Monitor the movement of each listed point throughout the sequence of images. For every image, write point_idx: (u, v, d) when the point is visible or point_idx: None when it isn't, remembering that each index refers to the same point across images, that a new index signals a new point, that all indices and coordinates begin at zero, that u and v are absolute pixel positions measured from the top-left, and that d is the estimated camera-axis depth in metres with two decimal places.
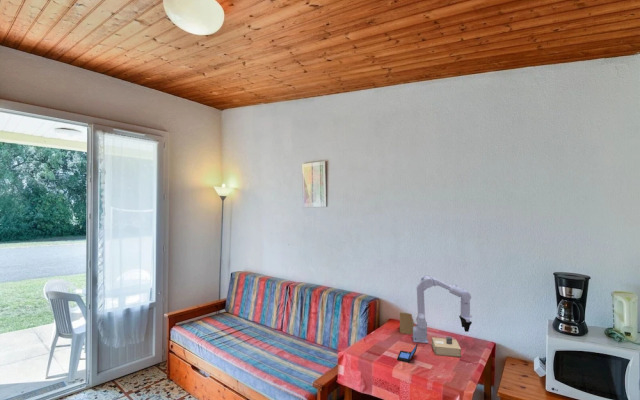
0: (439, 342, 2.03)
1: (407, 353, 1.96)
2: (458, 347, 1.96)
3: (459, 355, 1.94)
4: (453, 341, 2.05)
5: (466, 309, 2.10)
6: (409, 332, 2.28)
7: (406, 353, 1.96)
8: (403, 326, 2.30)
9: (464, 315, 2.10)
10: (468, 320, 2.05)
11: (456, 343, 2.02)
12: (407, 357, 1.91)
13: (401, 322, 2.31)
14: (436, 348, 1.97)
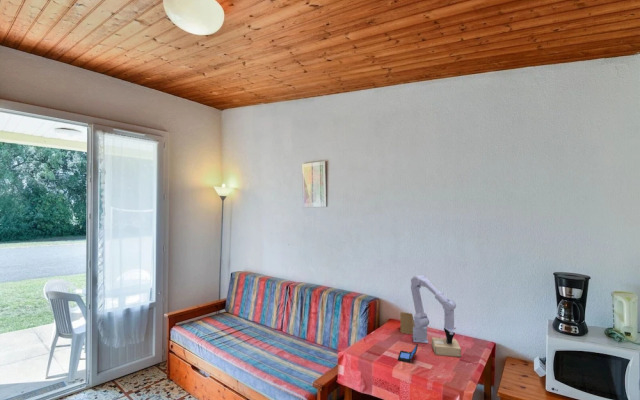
0: (439, 342, 2.03)
1: (407, 353, 1.96)
2: (458, 347, 1.96)
3: (459, 355, 1.94)
4: (453, 341, 2.05)
5: (447, 320, 2.00)
6: (410, 332, 2.28)
7: (406, 353, 1.96)
8: (404, 326, 2.31)
9: (448, 327, 2.00)
10: (452, 332, 1.95)
11: (456, 343, 2.02)
12: (408, 357, 1.91)
13: (402, 322, 2.31)
14: (436, 348, 1.97)
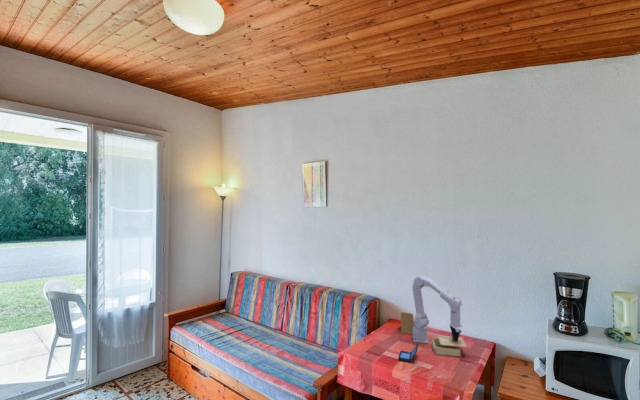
0: (444, 340, 2.02)
1: (407, 353, 1.96)
2: (464, 345, 1.95)
3: (459, 355, 1.94)
4: (458, 339, 2.04)
5: (453, 318, 2.00)
6: (410, 332, 2.29)
7: (406, 353, 1.96)
8: (404, 326, 2.31)
9: (454, 324, 1.99)
10: (458, 330, 1.94)
11: (462, 341, 2.01)
12: (408, 357, 1.91)
13: (402, 322, 2.31)
14: (436, 348, 1.97)
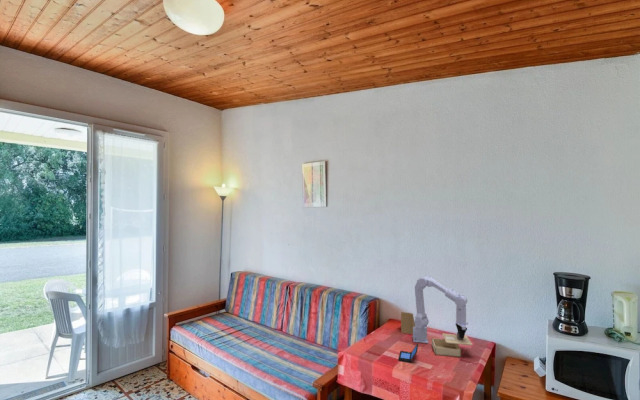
0: (450, 338, 2.02)
1: (407, 353, 1.96)
2: (469, 343, 1.95)
3: (459, 355, 1.94)
4: (464, 337, 2.03)
5: (459, 315, 1.99)
6: (410, 332, 2.29)
7: (407, 353, 1.96)
8: (404, 326, 2.31)
9: (460, 322, 1.99)
10: (464, 328, 1.94)
11: (467, 339, 2.00)
12: (408, 357, 1.91)
13: (402, 322, 2.31)
14: (436, 348, 1.97)
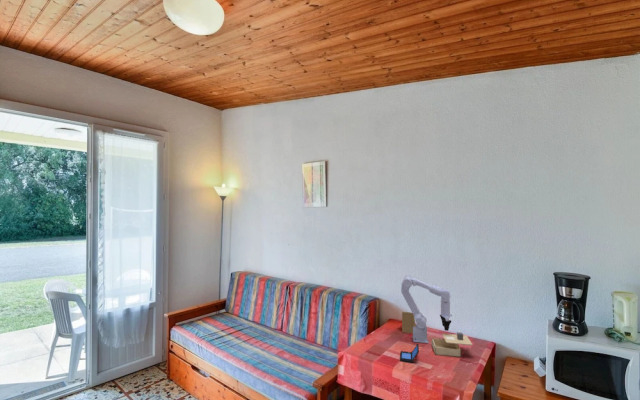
0: (450, 338, 2.02)
1: (408, 353, 1.96)
2: (469, 343, 1.95)
3: (459, 355, 1.94)
4: (464, 337, 2.03)
5: (445, 308, 2.11)
6: (412, 331, 2.30)
7: (407, 353, 1.96)
8: (405, 326, 2.32)
9: (444, 314, 2.11)
10: (447, 319, 2.06)
11: (467, 339, 2.00)
12: (409, 357, 1.90)
13: (403, 321, 2.32)
14: (436, 348, 1.97)
